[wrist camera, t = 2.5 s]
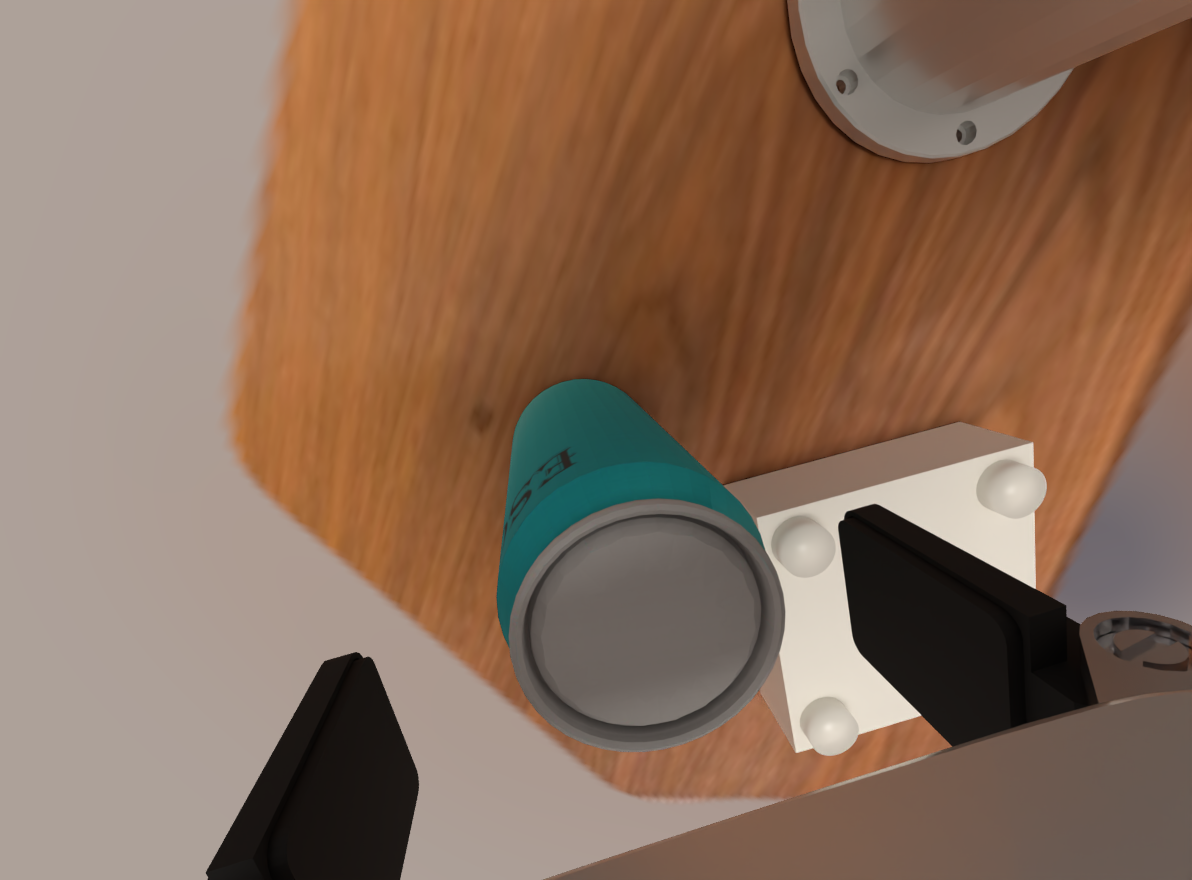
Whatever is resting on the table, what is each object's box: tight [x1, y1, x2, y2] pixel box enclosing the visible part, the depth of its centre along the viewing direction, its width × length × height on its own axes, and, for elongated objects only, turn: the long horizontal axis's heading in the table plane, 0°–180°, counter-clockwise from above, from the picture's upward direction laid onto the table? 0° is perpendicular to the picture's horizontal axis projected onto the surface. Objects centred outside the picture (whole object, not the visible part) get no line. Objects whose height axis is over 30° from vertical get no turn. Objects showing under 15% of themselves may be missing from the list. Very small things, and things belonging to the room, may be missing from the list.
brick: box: [723, 422, 1047, 756], centre depth 25 cm, size 12×12×5 cm
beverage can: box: [497, 379, 786, 752], centre depth 17 cm, size 6×6×15 cm
